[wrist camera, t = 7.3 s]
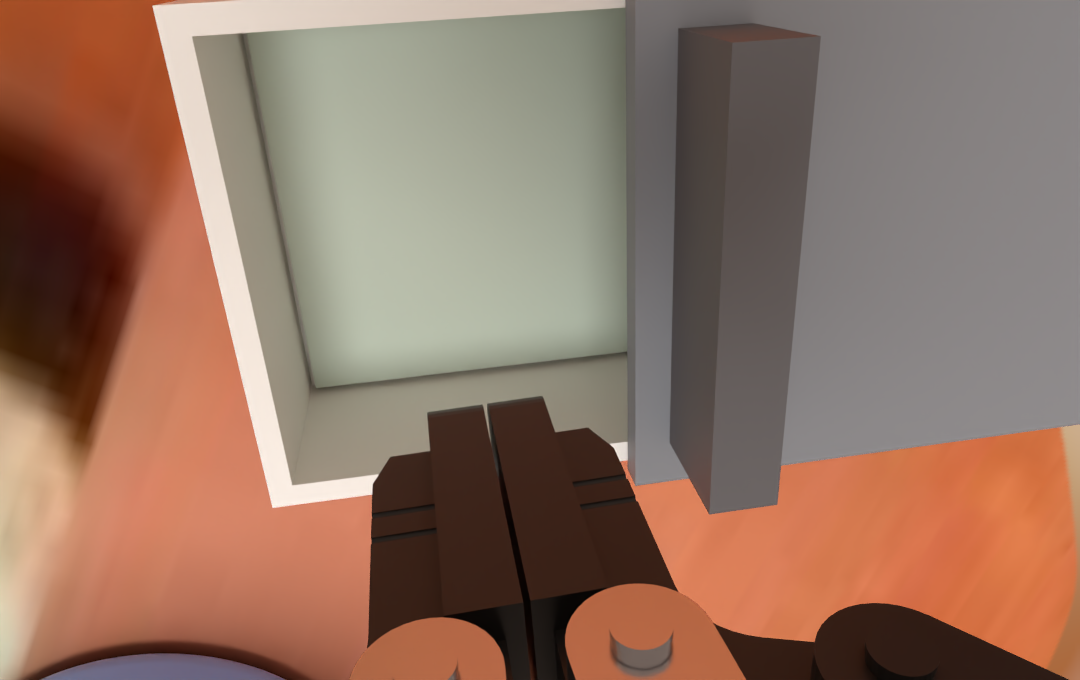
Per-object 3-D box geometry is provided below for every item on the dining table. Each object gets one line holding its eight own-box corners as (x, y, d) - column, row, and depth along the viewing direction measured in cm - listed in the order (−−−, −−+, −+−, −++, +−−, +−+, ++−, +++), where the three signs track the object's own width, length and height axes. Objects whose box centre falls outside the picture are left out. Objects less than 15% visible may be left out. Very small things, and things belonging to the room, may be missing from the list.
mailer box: (214, -8, 21) (152, 5, 16) (800, -44, 23) (922, -43, 18) (298, 395, 26) (272, 507, 21) (769, 339, 28) (856, 429, 23)
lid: (625, -35, 17) (683, -32, 13) (1323, -77, 19) (1530, -84, 15) (627, 468, 22) (669, 561, 19) (1169, 395, 24) (1296, 467, 21)
